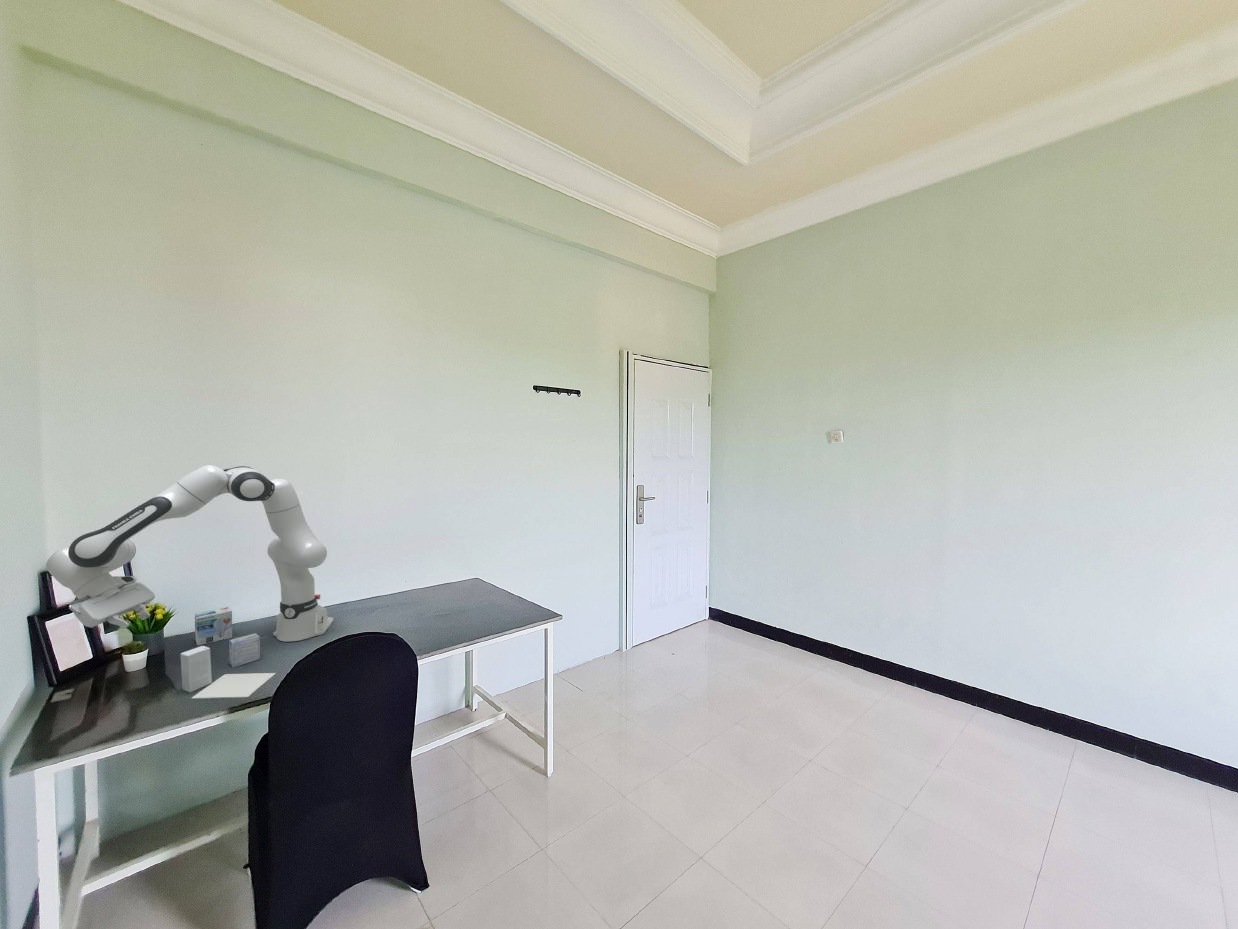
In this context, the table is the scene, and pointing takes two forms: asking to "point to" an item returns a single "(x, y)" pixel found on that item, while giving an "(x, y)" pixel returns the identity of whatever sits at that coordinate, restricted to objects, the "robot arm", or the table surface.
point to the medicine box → (244, 650)
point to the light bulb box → (213, 625)
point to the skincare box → (196, 668)
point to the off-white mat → (234, 686)
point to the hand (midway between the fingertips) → (137, 622)
